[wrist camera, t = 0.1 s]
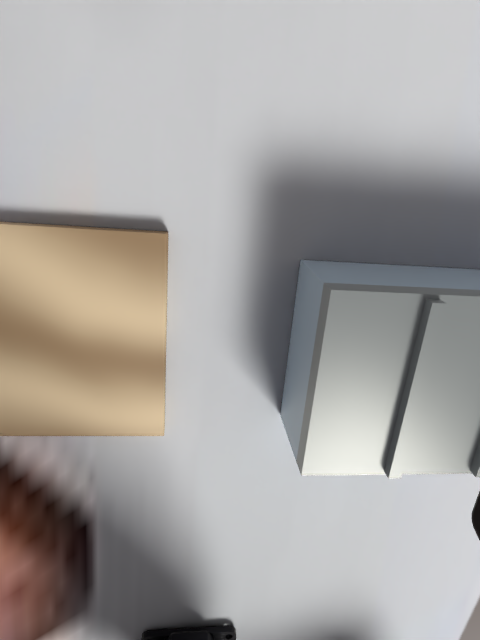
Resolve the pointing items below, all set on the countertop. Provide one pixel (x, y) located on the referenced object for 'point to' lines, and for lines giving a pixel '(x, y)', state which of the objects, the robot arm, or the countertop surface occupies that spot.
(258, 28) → the countertop surface
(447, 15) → the countertop surface
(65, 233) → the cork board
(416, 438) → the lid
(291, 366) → the tub
